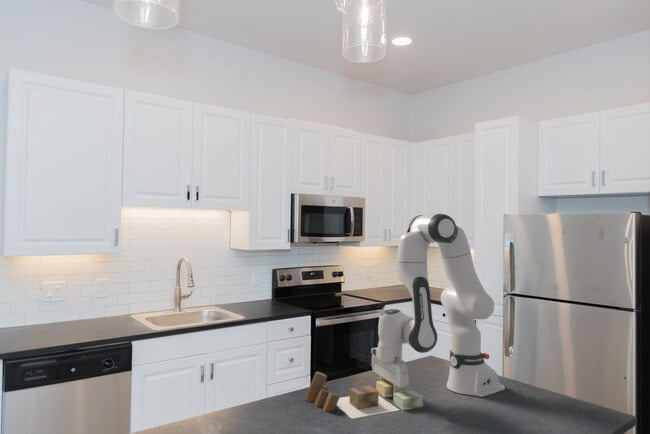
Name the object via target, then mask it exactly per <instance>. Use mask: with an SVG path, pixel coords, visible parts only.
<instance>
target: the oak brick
mask: <svg viewBox="0 0 650 434" xmlns="http://www.w3.org/2000/svg"><path fill="white" fill-rule="evenodd" d="M375 389H376V390H377V391H379V396H380V397H382V398H390V397H393V396H394V395H392V390H393V389H394V387H393V383H391V382H389V381H388V380H383V381H380V380H377V381H375ZM398 392H404V388H400V389H399V391H398Z"/></svg>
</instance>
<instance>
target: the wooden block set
mask: <svg viewBox="0 0 650 434" xmlns="http://www.w3.org/2000/svg"><path fill="white" fill-rule="evenodd" d="M327 378H328V376H327V374H326V373H323V372H320V371H316V372H315V373H314V376H313V379H312V380H311V383H310V385H309V387H308V389H307V391H306V395H305V397H304V400H305V401H306V402H307V403H308V402H309V403H311V402H313V405H314V406H315V408H319V407H322V410H323V411H324V412H325V413H326V412H334V411H335V410H336V407H337V403H338V400H339V398H340V396H339V395H338V393H334V392H333V391H329V388H327V387H324V385H325V383H326V380H327Z"/></svg>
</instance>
